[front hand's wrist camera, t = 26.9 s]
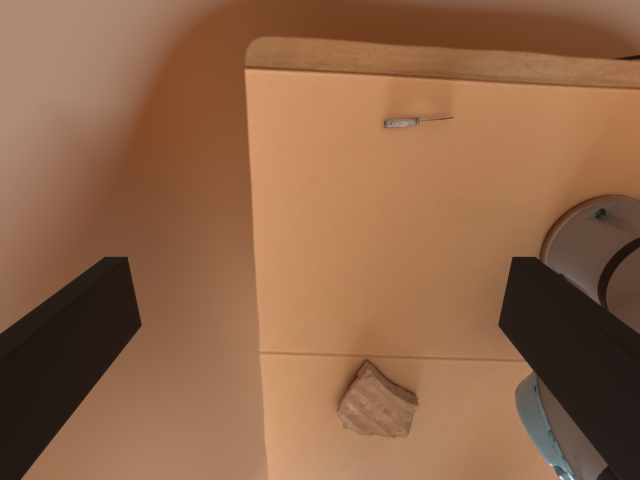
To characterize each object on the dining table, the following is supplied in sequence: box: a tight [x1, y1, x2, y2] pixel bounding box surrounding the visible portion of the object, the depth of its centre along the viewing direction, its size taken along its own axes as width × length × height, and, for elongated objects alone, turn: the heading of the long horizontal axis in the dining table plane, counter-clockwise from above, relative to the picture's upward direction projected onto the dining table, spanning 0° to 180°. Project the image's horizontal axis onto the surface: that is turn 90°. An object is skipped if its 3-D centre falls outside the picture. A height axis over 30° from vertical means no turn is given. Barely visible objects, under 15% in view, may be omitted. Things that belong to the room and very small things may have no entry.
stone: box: [336, 361, 419, 438], centre depth 58 cm, size 13×12×2 cm
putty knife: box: [384, 117, 454, 128], centre depth 43 cm, size 1×8×2 cm, turn 96°
